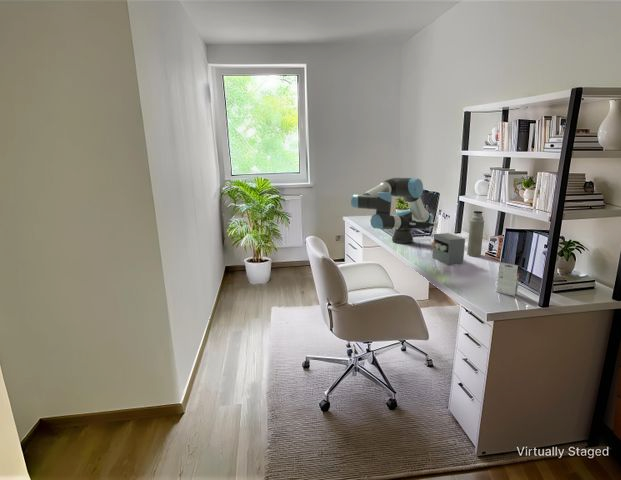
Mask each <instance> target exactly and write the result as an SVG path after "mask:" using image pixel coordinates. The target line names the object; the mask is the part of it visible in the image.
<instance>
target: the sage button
mask: <svg viewBox="0 0 621 480" xmlns="http://www.w3.org/2000/svg"><path fill="white" fill-rule="evenodd" d="M448 247H449V246H446V245H443V246H440V250H441V251H445V250H447V249H448Z"/></svg>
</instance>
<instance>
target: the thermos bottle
mask: <svg viewBox="0 0 621 480" xmlns="http://www.w3.org/2000/svg"><path fill="white" fill-rule="evenodd" d="M484 226H485V220H484V216H483V211H480V210H474V211H473V215H472V216H471V218H470V219H469V229H468V240H467V241H468V242H467V251H466V253H467V254H466V255H467V256H468V255H469V256H468V257H472V256H473V257H474V258H478V257H481V256H482V248H483V247H482V246H483V239H484V228H485V227H484ZM473 257H472V258H473Z"/></svg>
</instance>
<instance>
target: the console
mask: <svg viewBox="0 0 621 480" xmlns="http://www.w3.org/2000/svg"><path fill="white" fill-rule="evenodd" d="M433 242H437V243H441V244H442V245H444V244H445V245H446V246H449V247H448V249H447V250H445V251H441V250H440V249H436V247H432V257H431V258H433V259H434V260H436V259H437V261H438V260H439V262H440V263H443V264H445V265H447V266H452V265H453V266H454V265H462V264H464V258H465V257H464V256H465V247H466V246H465V245H466V238H464V237H461V236H459V235H456V234H453V233H449V232H446V233H445V232H444V233H434V234H433Z"/></svg>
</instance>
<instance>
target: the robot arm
mask: <svg viewBox="0 0 621 480" xmlns="http://www.w3.org/2000/svg"><path fill="white" fill-rule="evenodd" d="M423 193H424V184H423V181H422V180H421V179H420V178H416V177H392V178H388V179H386V180H383V181H380V182H379V183H378V184H377V186H375V187H373V188H371V189H369V190H367V191H366V192H363V193H361V194H359V193H358V194H353V195H352V196H351V198H350V204H351V205H350V206H351V207H352V208H354V209H364V210H375V213H374V214H372V215H371V218H370V225H371V228H373V229H377V230H379V229H380V230H391V231H394V233H393V235H392V238H391V242H392V241H393V243H394V242H396V243H395V244H399V243H410V244H412V243H411V242H413V243H414V237H413V233H412V230H413V229H415V230H421V231H422V230H424V231H431V230H432V228H438V226H439V225H438V224H439V223H438V222H435V221H434V213H429V211H428V210H427V209H425V206H424V202H423V201H422V198H421V197H422V195H423ZM392 197H398V198H399V197H400V198H402V199H403V200H404V201H405V202H406V203H407V204H408V207H409V209H402V210H397V211H395V214H394V215H393V214H391V209H392V201H393V200H392Z"/></svg>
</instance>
